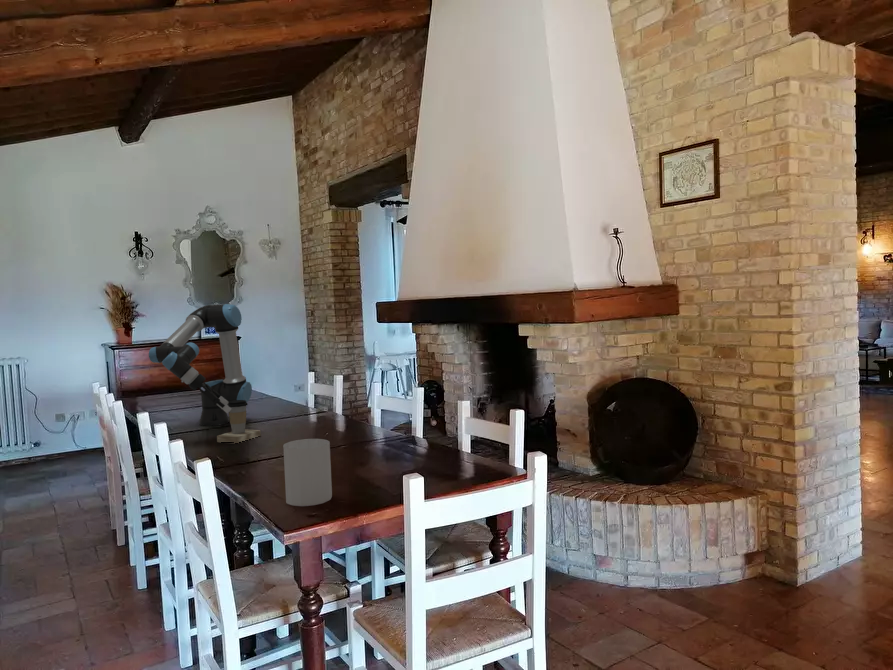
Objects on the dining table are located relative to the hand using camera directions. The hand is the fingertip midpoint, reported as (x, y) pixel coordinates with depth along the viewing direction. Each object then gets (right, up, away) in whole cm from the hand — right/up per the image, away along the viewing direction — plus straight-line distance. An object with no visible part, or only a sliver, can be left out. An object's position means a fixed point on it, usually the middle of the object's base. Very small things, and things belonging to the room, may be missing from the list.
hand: (229, 409), depth 302 cm
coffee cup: (+4, -12, +3) cm, 13 cm away
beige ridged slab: (+4, -15, +2) cm, 15 cm away
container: (+58, -18, -96) cm, 113 cm away
